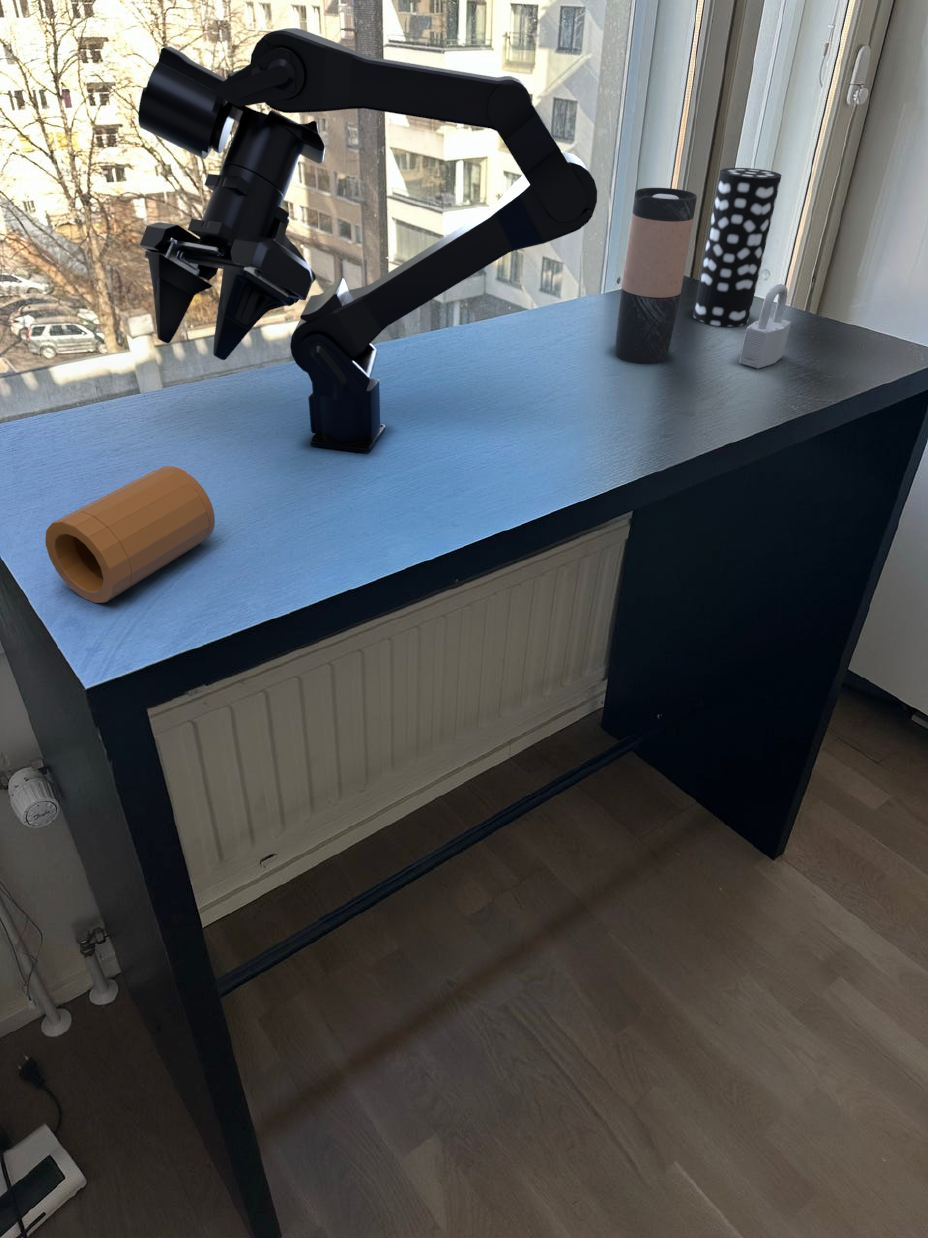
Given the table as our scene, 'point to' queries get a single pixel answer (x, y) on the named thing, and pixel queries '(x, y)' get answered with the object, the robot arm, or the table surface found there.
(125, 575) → the jar
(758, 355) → the padlock
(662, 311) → the travel mug
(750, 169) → the white-spotted black cylinder
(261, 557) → the table surface
